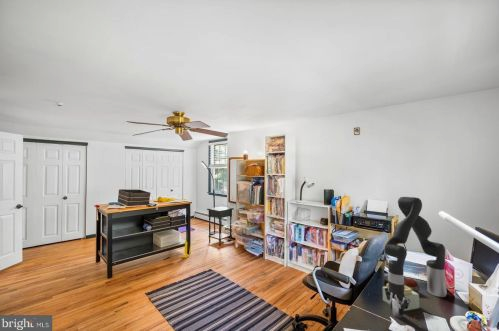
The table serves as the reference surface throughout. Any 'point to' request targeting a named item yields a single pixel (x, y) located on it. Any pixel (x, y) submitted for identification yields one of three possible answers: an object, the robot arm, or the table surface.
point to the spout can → (395, 308)
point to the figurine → (408, 284)
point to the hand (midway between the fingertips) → (397, 311)
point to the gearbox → (408, 294)
